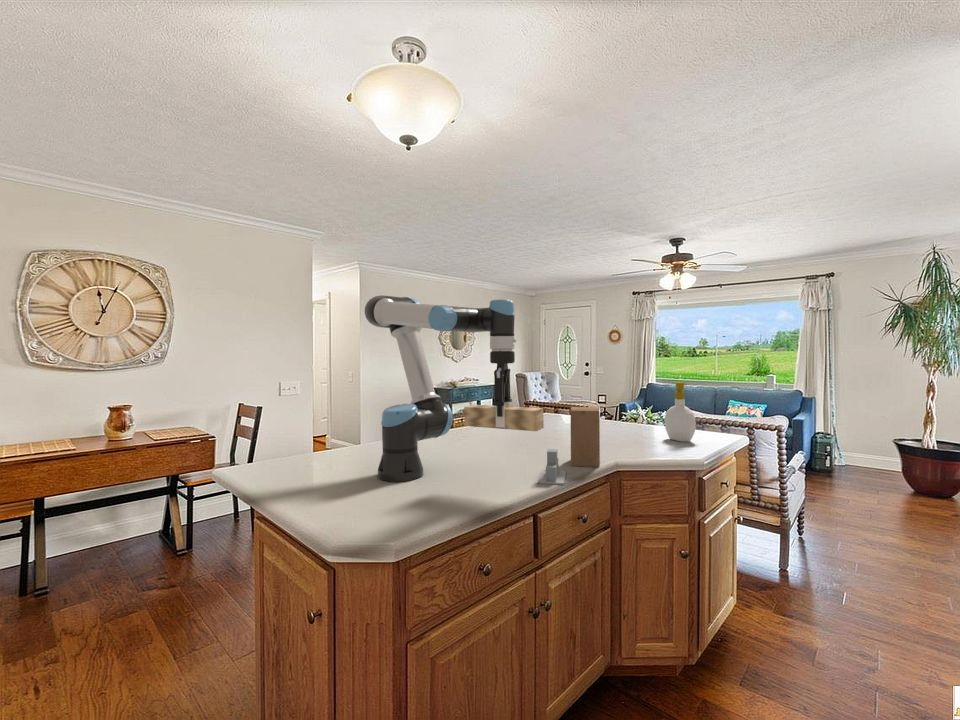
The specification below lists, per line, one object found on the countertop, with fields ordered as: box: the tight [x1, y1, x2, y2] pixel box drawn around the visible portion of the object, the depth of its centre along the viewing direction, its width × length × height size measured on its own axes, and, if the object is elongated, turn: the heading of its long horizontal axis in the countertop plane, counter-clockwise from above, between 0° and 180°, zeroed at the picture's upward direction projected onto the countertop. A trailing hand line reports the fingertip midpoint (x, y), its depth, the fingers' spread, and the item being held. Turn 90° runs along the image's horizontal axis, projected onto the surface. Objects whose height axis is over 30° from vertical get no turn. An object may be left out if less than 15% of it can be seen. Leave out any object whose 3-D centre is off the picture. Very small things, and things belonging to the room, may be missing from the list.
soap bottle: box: [664, 381, 697, 443], centre depth 204 cm, size 14×9×26 cm, turn 32°
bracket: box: [537, 448, 567, 486], centre depth 149 cm, size 8×14×9 cm, turn 166°
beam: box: [463, 404, 545, 432], centre depth 141 cm, size 24×6×6 cm, turn 62°
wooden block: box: [570, 406, 601, 468], centre depth 167 cm, size 10×10×20 cm
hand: (502, 424), depth 141 cm, fingers closed on beam, 7 cm apart
